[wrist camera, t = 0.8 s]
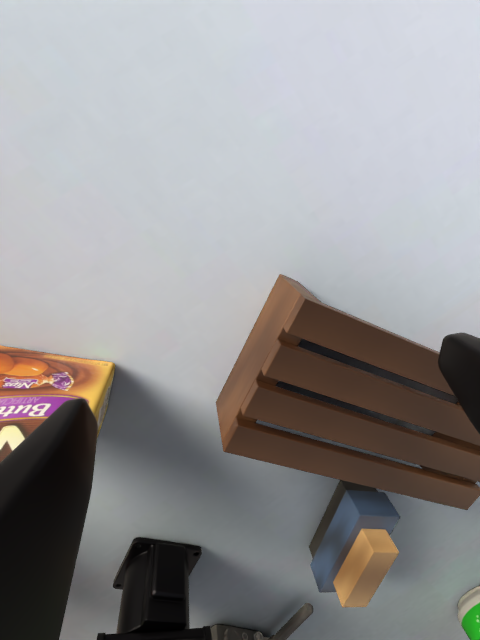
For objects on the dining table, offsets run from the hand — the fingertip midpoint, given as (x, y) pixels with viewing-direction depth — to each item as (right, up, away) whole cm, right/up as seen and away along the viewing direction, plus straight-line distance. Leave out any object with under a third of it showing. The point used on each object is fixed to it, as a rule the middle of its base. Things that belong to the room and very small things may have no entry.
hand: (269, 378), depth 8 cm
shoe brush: (+9, -18, +25) cm, 32 cm away
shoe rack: (+10, -4, +19) cm, 22 cm away
